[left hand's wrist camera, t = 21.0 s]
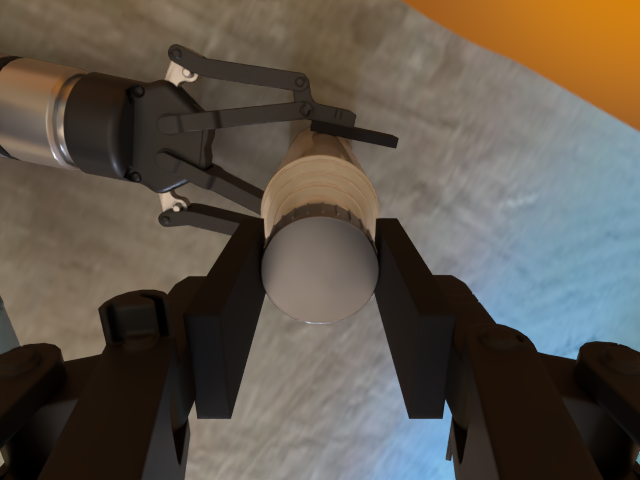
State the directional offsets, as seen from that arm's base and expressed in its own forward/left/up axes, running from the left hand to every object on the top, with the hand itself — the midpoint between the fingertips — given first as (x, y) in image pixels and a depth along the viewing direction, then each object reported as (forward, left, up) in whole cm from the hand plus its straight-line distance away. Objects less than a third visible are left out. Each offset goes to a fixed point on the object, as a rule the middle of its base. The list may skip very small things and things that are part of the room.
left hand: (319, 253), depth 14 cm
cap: (0, 0, +1) cm, 1 cm away
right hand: (-4, -3, -17) cm, 18 cm away
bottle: (0, 0, -24) cm, 24 cm away
